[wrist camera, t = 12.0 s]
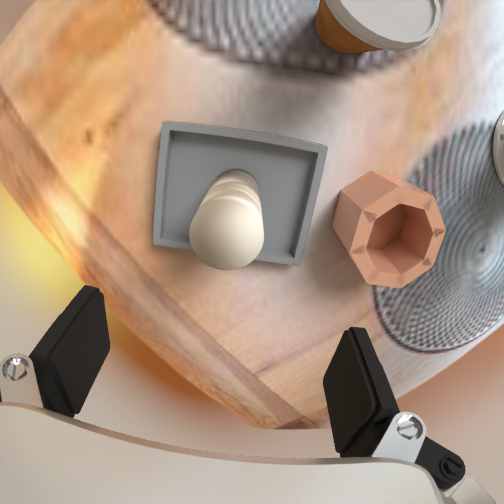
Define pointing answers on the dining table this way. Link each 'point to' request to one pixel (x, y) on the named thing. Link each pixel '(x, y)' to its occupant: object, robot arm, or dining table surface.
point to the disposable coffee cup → (376, 24)
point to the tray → (246, 158)
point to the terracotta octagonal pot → (388, 229)
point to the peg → (229, 222)
